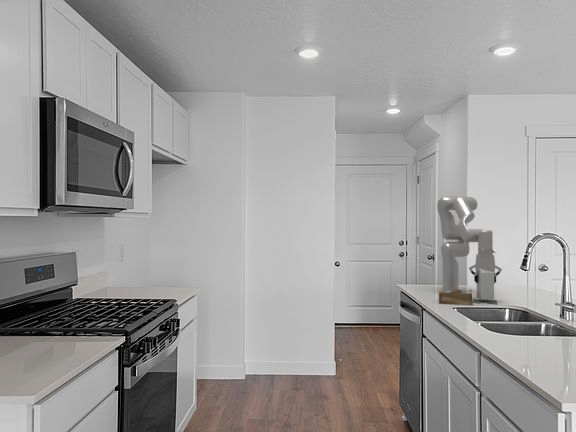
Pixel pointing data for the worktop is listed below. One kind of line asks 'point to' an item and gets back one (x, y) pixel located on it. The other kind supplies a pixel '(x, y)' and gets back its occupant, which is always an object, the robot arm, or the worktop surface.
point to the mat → (485, 301)
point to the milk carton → (485, 285)
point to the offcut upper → (455, 291)
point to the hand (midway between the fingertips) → (485, 283)
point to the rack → (455, 298)
